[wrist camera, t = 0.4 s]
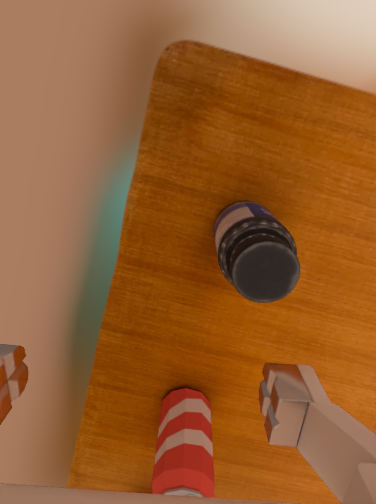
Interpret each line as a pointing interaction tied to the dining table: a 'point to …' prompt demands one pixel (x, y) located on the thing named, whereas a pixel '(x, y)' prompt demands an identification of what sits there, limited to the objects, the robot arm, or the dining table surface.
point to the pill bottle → (256, 252)
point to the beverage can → (184, 446)
